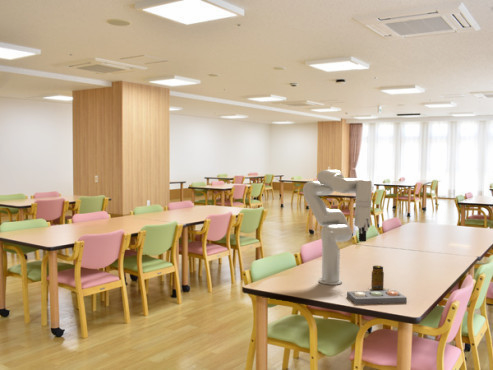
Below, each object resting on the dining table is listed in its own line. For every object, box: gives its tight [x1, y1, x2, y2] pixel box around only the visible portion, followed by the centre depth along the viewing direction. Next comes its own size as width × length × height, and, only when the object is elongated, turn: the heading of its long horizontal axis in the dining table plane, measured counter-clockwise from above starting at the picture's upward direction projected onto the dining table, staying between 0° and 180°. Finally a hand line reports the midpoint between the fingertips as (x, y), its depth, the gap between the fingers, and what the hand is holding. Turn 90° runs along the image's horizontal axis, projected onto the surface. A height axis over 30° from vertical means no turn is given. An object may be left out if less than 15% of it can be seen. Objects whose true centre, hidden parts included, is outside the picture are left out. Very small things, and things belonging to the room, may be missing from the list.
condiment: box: [368, 265, 390, 291], centre depth 239 cm, size 7×8×12 cm
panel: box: [346, 289, 408, 305], centre depth 221 cm, size 12×25×2 cm, turn 97°
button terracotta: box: [387, 290, 399, 296], centre depth 222 cm, size 5×5×2 cm
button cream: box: [355, 292, 365, 297], centre depth 220 cm, size 5×5×2 cm
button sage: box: [371, 290, 382, 296], centre depth 221 cm, size 5×5×2 cm
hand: (362, 241), depth 227 cm, fingers closed
